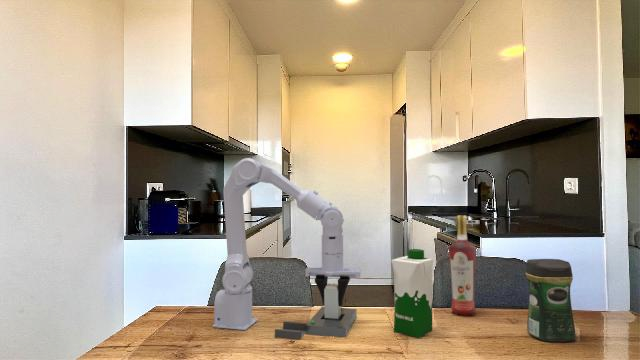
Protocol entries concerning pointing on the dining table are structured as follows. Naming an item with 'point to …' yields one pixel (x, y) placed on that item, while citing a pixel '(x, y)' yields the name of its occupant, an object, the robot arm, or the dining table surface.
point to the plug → (331, 301)
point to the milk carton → (413, 294)
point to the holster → (291, 330)
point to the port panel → (331, 323)
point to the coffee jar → (550, 300)
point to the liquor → (462, 271)
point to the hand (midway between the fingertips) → (332, 304)
